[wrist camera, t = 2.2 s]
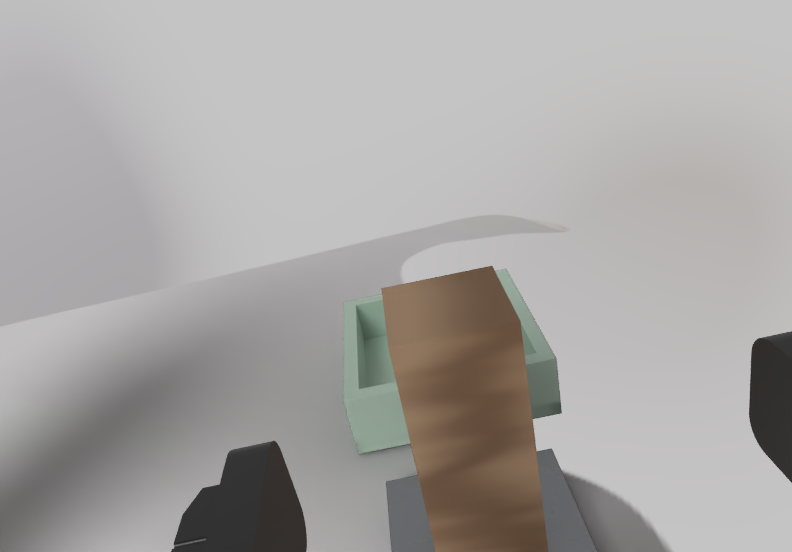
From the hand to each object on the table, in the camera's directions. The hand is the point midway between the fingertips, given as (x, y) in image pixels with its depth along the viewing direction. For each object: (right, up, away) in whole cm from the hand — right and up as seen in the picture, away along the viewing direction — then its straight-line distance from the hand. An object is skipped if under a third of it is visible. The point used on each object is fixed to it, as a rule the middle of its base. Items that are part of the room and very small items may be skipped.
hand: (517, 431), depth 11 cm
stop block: (+2, -8, +16) cm, 18 cm away
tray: (+1, -3, +28) cm, 28 cm away
